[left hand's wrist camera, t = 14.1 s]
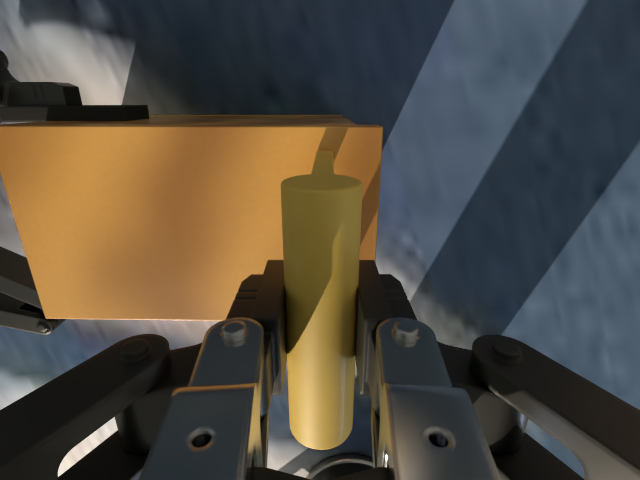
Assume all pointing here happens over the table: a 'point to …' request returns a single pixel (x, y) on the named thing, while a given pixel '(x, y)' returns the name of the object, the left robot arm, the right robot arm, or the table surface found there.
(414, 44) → the table surface
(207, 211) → the lid
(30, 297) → the right robot arm
